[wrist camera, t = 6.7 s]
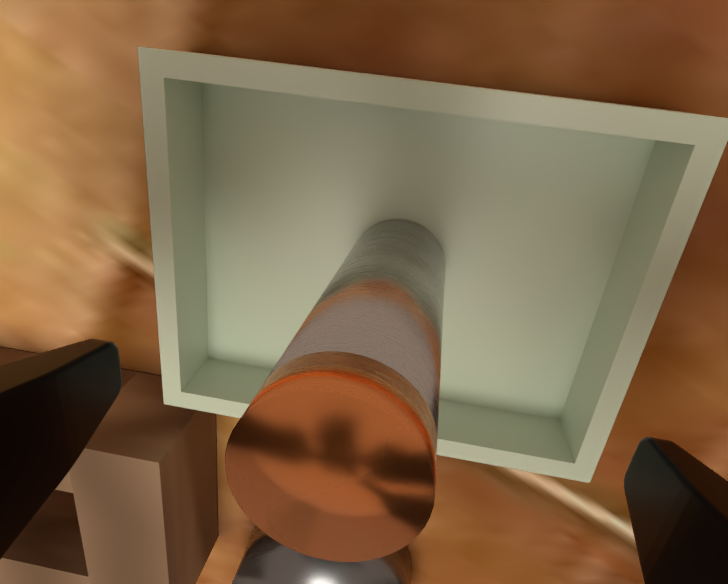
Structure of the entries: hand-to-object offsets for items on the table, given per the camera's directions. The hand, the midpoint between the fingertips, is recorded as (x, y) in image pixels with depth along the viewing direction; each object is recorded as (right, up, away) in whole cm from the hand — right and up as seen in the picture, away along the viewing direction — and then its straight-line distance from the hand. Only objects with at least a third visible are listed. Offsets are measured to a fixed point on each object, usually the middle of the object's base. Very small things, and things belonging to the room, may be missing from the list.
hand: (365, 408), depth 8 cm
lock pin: (+1, +3, +6) cm, 7 cm away
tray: (+1, +3, +7) cm, 8 cm away
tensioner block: (-11, -4, +12) cm, 17 cm away
